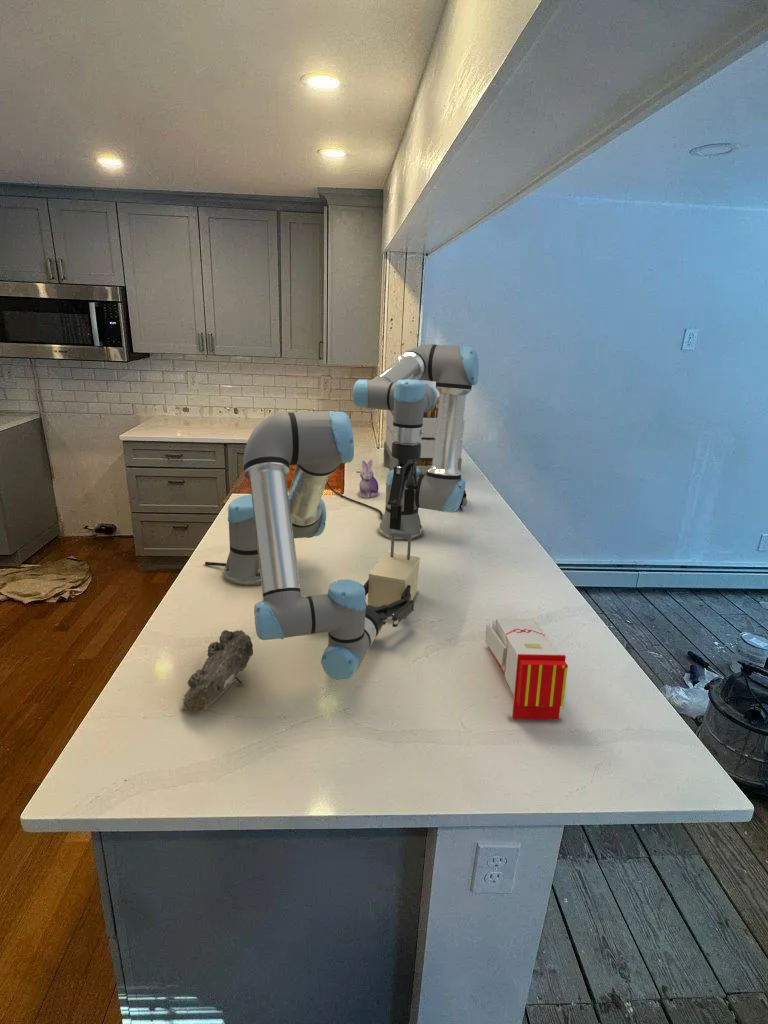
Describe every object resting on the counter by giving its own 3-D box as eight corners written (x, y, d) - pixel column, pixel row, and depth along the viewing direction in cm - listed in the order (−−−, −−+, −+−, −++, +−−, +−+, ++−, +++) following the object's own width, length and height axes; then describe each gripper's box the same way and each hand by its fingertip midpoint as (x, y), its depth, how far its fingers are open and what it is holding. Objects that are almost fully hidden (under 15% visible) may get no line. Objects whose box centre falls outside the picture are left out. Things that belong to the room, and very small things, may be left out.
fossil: (205, 632, 127) (252, 602, 122) (234, 661, 130) (282, 632, 125) (161, 704, 108) (216, 672, 103) (197, 736, 111) (252, 705, 106)
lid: (385, 554, 159) (387, 525, 156) (419, 560, 157) (421, 530, 154) (368, 577, 146) (369, 545, 143) (405, 583, 143) (407, 551, 140)
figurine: (363, 499, 233) (364, 464, 228) (353, 492, 242) (354, 458, 236) (383, 497, 237) (385, 462, 232) (373, 490, 246) (374, 456, 241)
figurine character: (467, 515, 225) (461, 499, 238) (469, 498, 221) (463, 482, 235) (450, 514, 224) (445, 498, 238) (452, 497, 221) (447, 482, 234)
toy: (531, 603, 136) (576, 661, 106) (526, 655, 139) (569, 725, 109) (481, 602, 135) (512, 660, 106) (477, 654, 138) (507, 724, 109)
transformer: (382, 463, 289) (386, 382, 275) (445, 464, 293) (451, 384, 279) (390, 482, 257) (394, 392, 243) (460, 483, 261) (468, 394, 247)
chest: (383, 586, 162) (385, 555, 159) (416, 592, 159) (419, 561, 156) (367, 610, 149) (368, 577, 146) (403, 616, 146) (405, 583, 143)
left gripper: (315, 633, 132) (348, 591, 152) (408, 653, 126) (430, 606, 146) (315, 605, 129) (349, 566, 150) (410, 624, 123) (432, 580, 144)
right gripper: (408, 454, 132) (403, 538, 139) (431, 434, 155) (426, 508, 162) (377, 450, 134) (374, 534, 141) (405, 431, 157) (401, 504, 164)
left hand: (389, 586), depth 148 cm, fingers closed on chest, 10 cm apart
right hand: (402, 520), depth 151 cm, fingers open, 13 cm apart
